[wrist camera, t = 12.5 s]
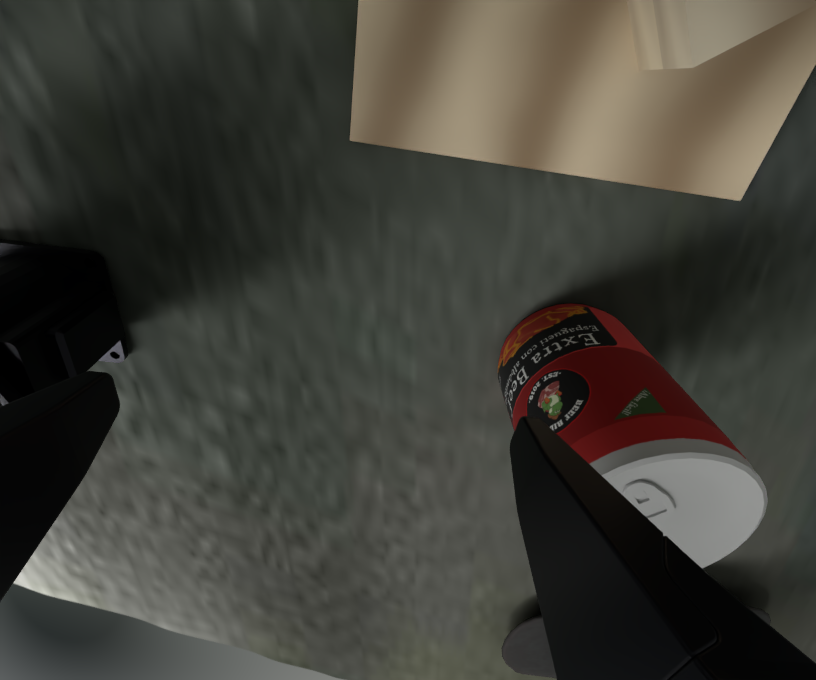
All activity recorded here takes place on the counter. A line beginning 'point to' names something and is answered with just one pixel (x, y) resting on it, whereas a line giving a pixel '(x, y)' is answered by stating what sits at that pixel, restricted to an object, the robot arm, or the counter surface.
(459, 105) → the beige square cloth
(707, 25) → the slab top
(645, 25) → the slab bottom
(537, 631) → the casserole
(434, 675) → the counter surface
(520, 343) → the canned food
